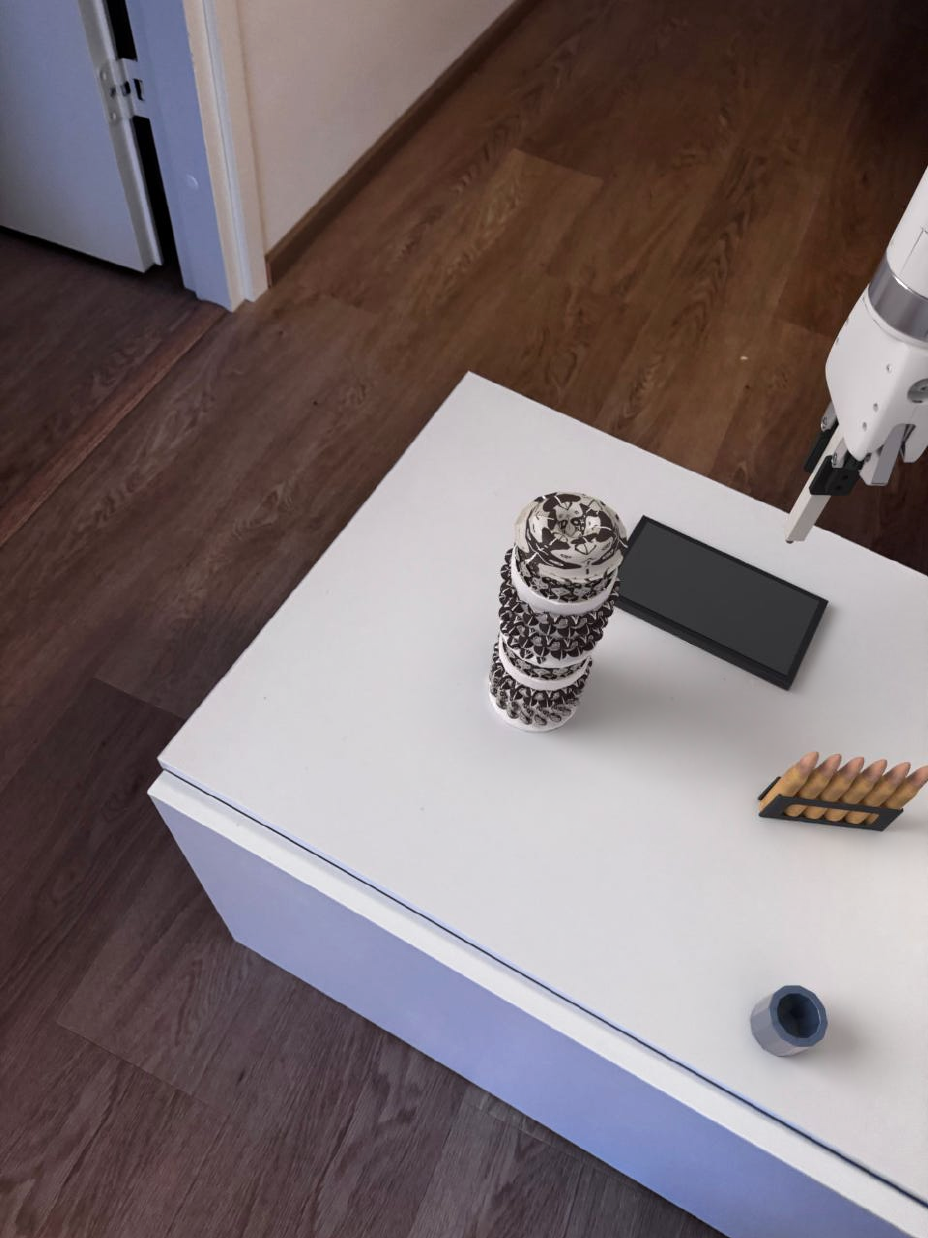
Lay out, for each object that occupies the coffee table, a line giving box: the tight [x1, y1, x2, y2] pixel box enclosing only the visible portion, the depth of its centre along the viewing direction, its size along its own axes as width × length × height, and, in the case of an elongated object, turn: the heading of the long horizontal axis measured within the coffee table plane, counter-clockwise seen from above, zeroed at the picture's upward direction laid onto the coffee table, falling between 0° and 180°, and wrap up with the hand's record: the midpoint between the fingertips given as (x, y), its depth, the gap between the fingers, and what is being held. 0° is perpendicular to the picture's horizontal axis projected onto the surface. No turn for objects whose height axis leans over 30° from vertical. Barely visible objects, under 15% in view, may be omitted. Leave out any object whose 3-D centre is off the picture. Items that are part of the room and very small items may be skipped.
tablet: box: [606, 514, 830, 692], centre depth 95 cm, size 20×11×1 cm, turn 60°
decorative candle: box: [488, 491, 628, 733], centre depth 78 cm, size 9×9×25 cm
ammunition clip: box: [757, 751, 928, 832], centre depth 79 cm, size 11×2×12 cm, turn 84°
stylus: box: [782, 425, 843, 545], centre depth 78 cm, size 2×2×14 cm
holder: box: [749, 984, 829, 1057], centre depth 72 cm, size 4×4×5 cm
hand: (824, 480), depth 77 cm, fingers closed on stylus, 1 cm apart
